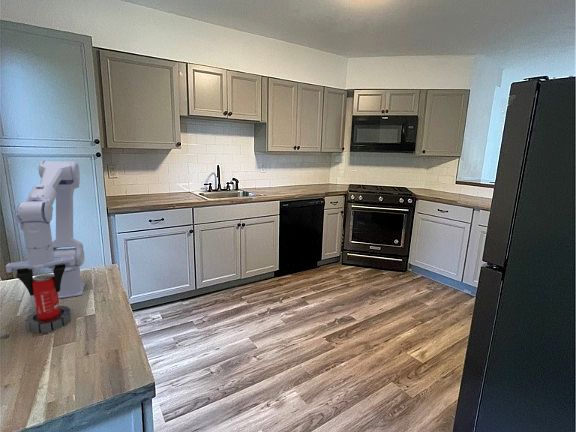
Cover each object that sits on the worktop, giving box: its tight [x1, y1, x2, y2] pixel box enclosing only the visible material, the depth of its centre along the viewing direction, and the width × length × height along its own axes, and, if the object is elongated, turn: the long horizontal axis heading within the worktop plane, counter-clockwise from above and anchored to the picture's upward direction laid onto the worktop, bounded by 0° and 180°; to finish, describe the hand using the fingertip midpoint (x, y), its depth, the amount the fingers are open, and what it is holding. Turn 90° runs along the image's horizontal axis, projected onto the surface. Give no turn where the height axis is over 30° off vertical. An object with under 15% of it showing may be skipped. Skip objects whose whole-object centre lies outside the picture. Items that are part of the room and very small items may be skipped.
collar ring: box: [25, 305, 72, 334], centre depth 89 cm, size 10×10×2 cm
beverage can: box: [32, 273, 61, 322], centre depth 88 cm, size 5×5×12 cm
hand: (45, 292), depth 87 cm, fingers closed on beverage can, 5 cm apart
